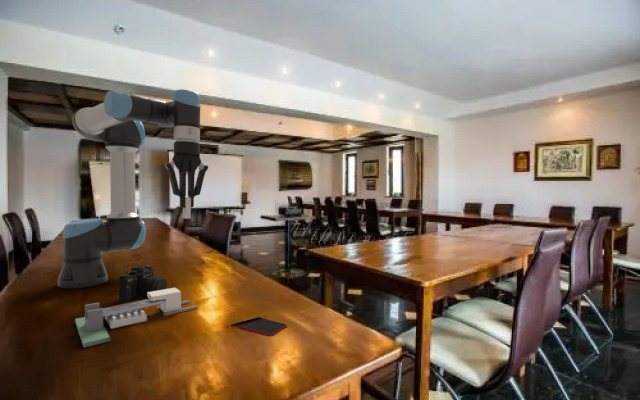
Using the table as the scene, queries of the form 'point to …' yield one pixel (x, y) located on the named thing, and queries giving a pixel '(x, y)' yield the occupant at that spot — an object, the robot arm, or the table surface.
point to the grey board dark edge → (130, 306)
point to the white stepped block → (167, 298)
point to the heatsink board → (91, 335)
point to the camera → (139, 283)
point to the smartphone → (261, 326)
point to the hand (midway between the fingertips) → (186, 218)
